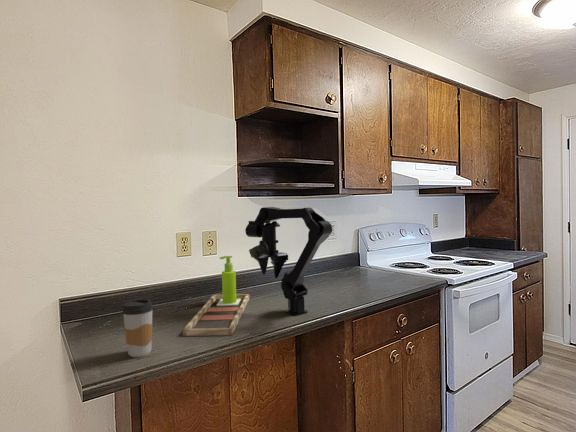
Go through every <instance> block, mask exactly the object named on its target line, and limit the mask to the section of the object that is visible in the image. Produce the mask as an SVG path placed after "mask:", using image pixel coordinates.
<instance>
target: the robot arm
mask: <svg viewBox="0 0 576 432" xmlns="http://www.w3.org/2000/svg"><path fill="white" fill-rule="evenodd" d="M281 219H302V220H303V222H304V224H305V226H306V227H307V229H308V233H307V236H308V237H307V239H308V240H307V242H306V244H305V246H304V248H303V250H302V251H301V254H300V256H299V258H298V259H297V261H296V263H295V265H294V267H293V269H292V270H290V271H289V270H288V271H286V272H284V274H283V277H282V278H281V280H280V282H281V283H280V287H281V290H282V292H283V293H282V294H283V296H284V298H285V299H286V300H287V310H284V311H285V313H288V314H290V315H292V316H299V315H304V314H307V313H308V312H309V311H308V310H305V297H304V296H307V295H308V292H309V290H308V288H307V287H306V286H305V284H304V282H305V274H306V272H307V270H308V268H309V266H310V264H311V263H312V260H313V258H314V257H315V255H316V253H317V252H318V249H319V248H320V246H321V245H322V244H323V243H324V242H325V241H326V240H327V239H328V238H329V237H330V235H331V234H332V233H333V227H332V224H331V222H330V221H328V220H326V218H324V217H323V216H321V215H320V214H319V213H317V212H316V211H315V210H314V209H313V208H312V207H303V208H280V207H274V206H267V207H266V206H264V207H261V208H260V209H259V211H258V214H257V216H256V218H255V220H248V224H247V225H246V226H245V231H244V232H245V235H246V236H247V237H248V238H261V240H259V242H258V243H259V244H257V245H255V246H254V247H252V248H250V249H249V250H248V253H249V254H250V257H251V258H252V259H254V260H255V261H257V262H258V265H259V267H260V270H261V273H262V275H266V272H267V268H268V263H269V260H271V261H270V263H271V265H273V274H274V279H277V278H279V276H280V274H281V271H282V269H283V267H284V264H285V263H287V261H289V254H288V253H287V252H279V249H278V250H277V244H278V243H279V240H277V229H276V228H279V227H281V225H280V223H278V222H277V221H278V220H281Z"/></svg>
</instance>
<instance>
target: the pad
mask: <svg viewBox="0 0 576 432" xmlns="http://www.w3.org/2000/svg"><path fill="white" fill-rule="evenodd" d="M236 300H237V301H236V302H235V303H231V304H225V303H223V299H221V300H219V301H218V302H217V304H216V307H225V306H226V307H232V306H233V307H238V306H239V304H240V302H241V301H242V299H236Z"/></svg>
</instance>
